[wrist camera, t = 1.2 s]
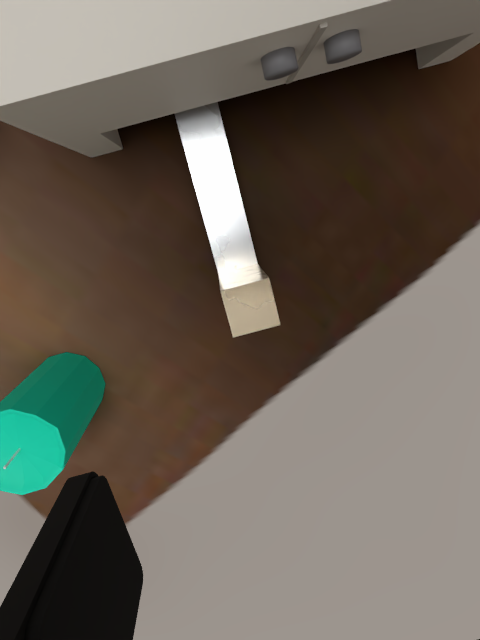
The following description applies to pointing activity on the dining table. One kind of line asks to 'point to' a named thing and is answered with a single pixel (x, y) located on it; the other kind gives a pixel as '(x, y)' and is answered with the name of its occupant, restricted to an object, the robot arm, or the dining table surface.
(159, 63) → the cabinet
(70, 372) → the candle
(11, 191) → the dining table surface
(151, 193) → the dining table surface
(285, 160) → the dining table surface
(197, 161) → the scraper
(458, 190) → the dining table surface
